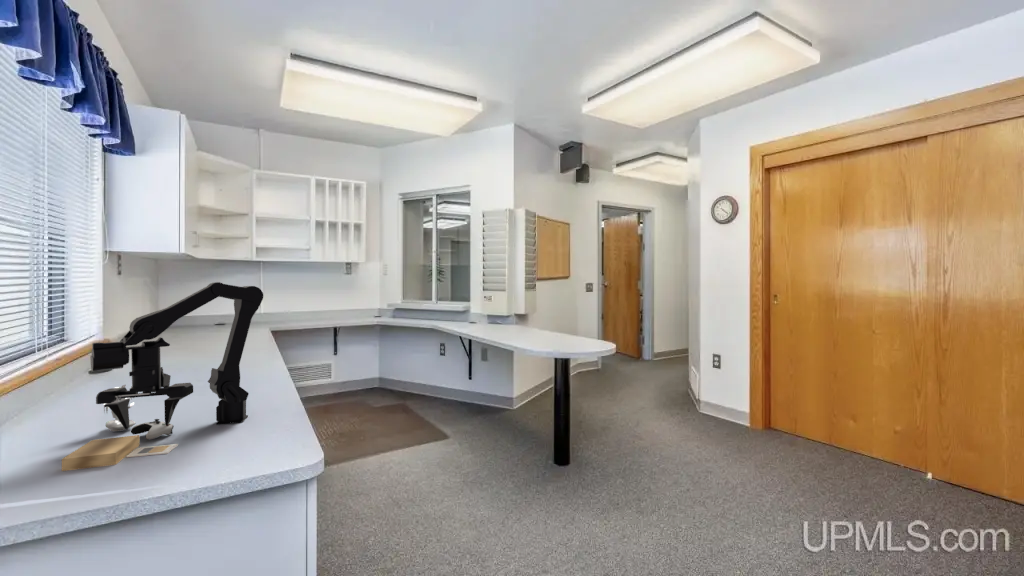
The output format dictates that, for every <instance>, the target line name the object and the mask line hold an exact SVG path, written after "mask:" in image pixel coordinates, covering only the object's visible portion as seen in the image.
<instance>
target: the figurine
mask: <svg viewBox="0 0 1024 576" xmlns="http://www.w3.org/2000/svg"><path fill="white" fill-rule="evenodd" d="M124 387H125V388H126V384H123V385H121V387H120V386H115V387H114V388H124ZM130 388H132V385H131V387H130ZM125 399H130V400H133V399H135V397H133V398H125ZM104 405H105V404H103V412H104V415H106V414H108V411H109V409H110V408H109V407H104ZM134 405H135V402H134V401H133V402H132V403H131V402H129V405H128V410H129V409H131V408H132V407H134ZM105 411H106V414H105ZM110 411H111V415H112V420H109V421H107V422H106V423H105V428H107V429H109V430H110V431H111V432H117V433H118V432H122V431H125V430H127V429H125V428H124V427H123V425H122V424H121V422H120V421H119V419H118V418H117V416H116V415H115V414H114V413H113V411H112V410H111V409H110ZM135 425H137V424H136V422H135V421H134V420H132V419H129V428H128V429H130V428H133V427H134V426H135Z"/></svg>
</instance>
